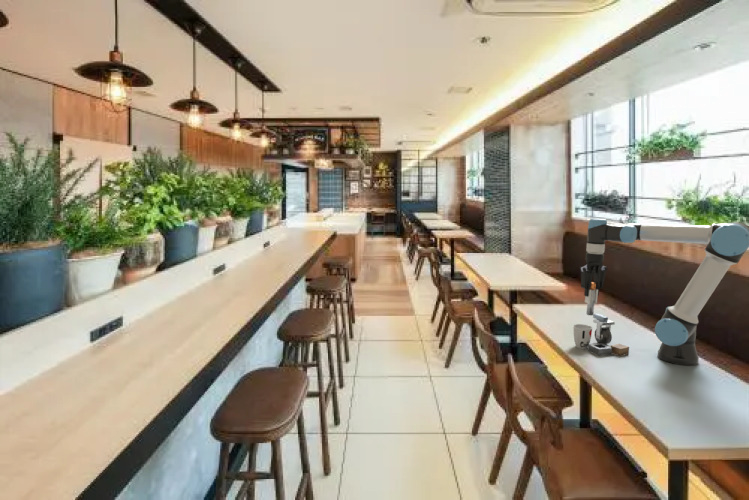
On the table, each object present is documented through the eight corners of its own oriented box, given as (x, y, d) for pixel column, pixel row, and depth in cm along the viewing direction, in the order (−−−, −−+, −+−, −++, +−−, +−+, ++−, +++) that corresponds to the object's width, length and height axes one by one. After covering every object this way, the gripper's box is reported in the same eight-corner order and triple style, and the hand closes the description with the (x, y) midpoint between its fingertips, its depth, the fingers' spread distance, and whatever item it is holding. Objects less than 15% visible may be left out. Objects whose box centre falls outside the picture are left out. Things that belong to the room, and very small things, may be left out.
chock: (628, 354, 214) (629, 346, 214) (619, 356, 212) (620, 348, 211) (618, 350, 219) (619, 343, 218) (609, 353, 216) (610, 345, 216)
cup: (580, 350, 219) (581, 329, 217) (568, 345, 226) (569, 324, 225) (594, 349, 221) (596, 328, 219) (582, 343, 228) (584, 323, 227)
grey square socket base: (611, 354, 214) (612, 347, 213) (598, 355, 212) (599, 349, 211) (600, 349, 220) (601, 343, 220) (587, 350, 219) (588, 344, 218)
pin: (594, 315, 218) (597, 283, 215) (589, 315, 217) (592, 283, 215) (590, 313, 220) (593, 282, 218) (584, 313, 220) (587, 282, 217)
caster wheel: (614, 345, 225) (616, 318, 224) (602, 347, 224) (604, 319, 222) (599, 339, 235) (601, 313, 233) (587, 340, 233) (589, 314, 231)
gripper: (603, 251, 220) (599, 300, 223) (574, 251, 216) (570, 301, 219) (615, 253, 213) (611, 304, 216) (585, 254, 209) (581, 305, 212)
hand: (590, 302), depth 218 cm, fingers closed on pin, 3 cm apart
